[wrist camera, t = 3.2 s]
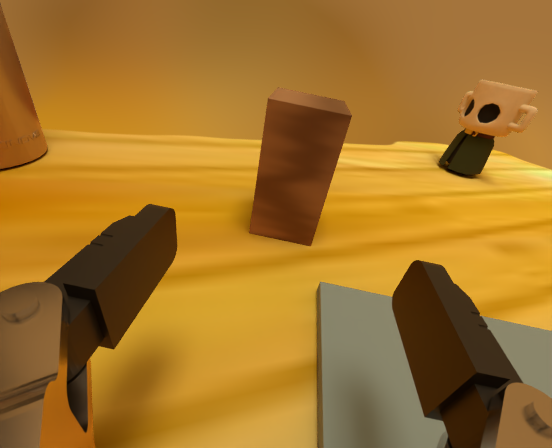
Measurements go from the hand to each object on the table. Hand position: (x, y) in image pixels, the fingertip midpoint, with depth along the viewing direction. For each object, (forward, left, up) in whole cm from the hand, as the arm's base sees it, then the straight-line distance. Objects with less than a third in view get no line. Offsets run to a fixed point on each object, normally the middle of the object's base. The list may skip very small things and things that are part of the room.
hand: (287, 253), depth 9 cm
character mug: (+27, +38, -7) cm, 47 cm away
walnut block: (0, +12, -7) cm, 14 cm away
